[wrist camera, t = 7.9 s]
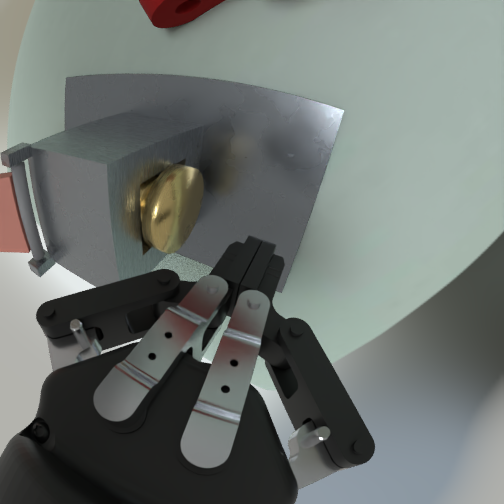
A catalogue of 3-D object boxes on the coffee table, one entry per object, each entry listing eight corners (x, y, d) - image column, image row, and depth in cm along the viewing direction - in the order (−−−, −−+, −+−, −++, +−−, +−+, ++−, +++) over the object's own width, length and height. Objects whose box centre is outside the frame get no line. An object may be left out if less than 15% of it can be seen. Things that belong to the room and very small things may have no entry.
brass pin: (72, 131, 19) (24, 151, 15) (207, 157, 17) (159, 187, 13) (76, 184, 23) (34, 210, 18) (199, 227, 21) (159, 270, 16)
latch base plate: (68, 77, 18) (-32, 107, 9) (343, 110, 15) (349, 141, 6) (74, 209, 28) (3, 263, 19) (282, 290, 25) (238, 408, 15)
